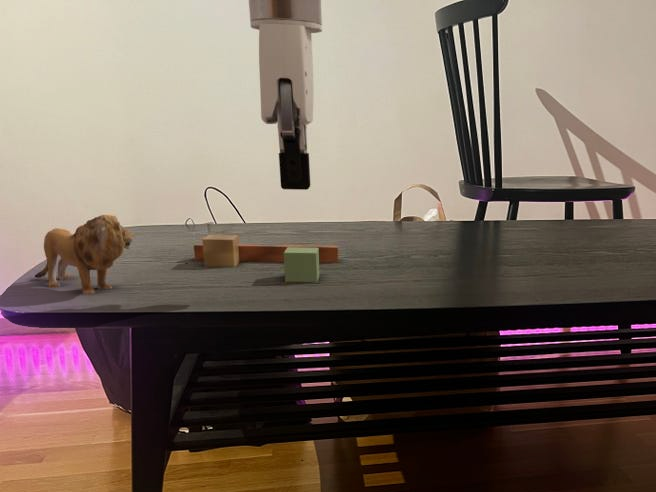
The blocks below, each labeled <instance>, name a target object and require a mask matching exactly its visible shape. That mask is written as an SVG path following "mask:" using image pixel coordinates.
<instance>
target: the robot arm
mask: <svg viewBox="0 0 656 492" xmlns="http://www.w3.org/2000/svg"><path fill="white" fill-rule="evenodd" d="M248 11H249V21H250V22H249V24H250V28H251V29H254V30H257V31H258V67H259V90H260V91H259V93H260V96H259V97H260V117H261V120H262V122H263V123H265V124H266V125H275V124H277V133H278V135H277V136H278V146H279V153H278V163H279V165H278V166H279V177H280V179H279V180H280V187H281V189H282V190H302V191H304V190H305V191H306V190H309V189H310V187H311V170H310V169H311V168H310V166H311V165H310V153H309V152H308V135H307V134H308V133H307V129H308V128H307V127H308V126H307V125H309V124H311V123H312V122H313V120H314V64H313V63H314V62H313V40H312V34H318V33H319V34H320V33H322V32H323V21H322V19H323V18H322V0H248Z"/></svg>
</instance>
